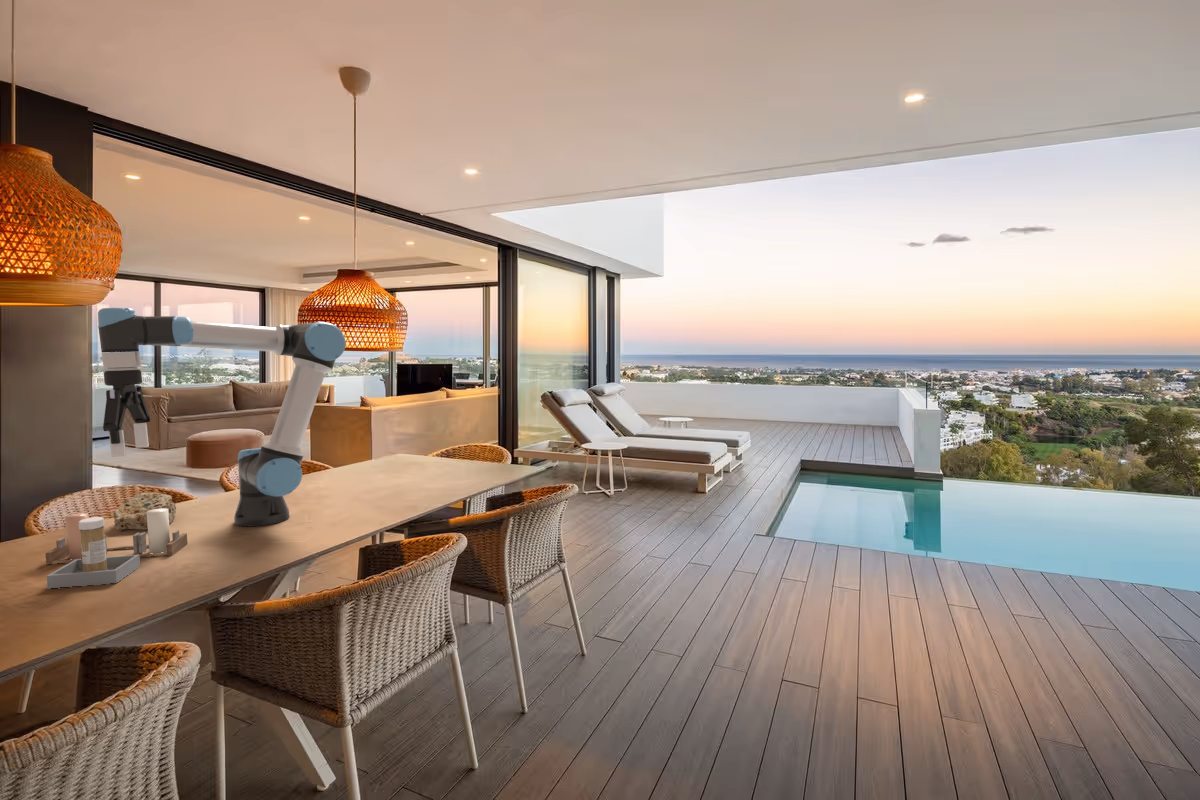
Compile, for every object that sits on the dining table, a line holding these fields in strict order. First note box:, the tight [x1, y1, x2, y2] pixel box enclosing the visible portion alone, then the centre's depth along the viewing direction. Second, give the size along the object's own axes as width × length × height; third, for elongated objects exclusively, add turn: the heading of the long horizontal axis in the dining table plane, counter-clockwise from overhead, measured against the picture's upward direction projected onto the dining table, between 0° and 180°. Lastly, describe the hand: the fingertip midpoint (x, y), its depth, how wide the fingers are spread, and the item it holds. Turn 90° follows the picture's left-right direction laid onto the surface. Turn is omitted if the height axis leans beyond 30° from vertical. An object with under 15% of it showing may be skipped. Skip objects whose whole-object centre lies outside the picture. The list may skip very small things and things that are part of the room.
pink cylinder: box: [64, 512, 90, 560], centre depth 155 cm, size 5×5×11 cm
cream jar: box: [147, 508, 171, 554], centre depth 160 cm, size 5×5×11 cm
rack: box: [45, 529, 188, 565], centre depth 158 cm, size 27×10×5 cm, turn 105°
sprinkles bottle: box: [79, 516, 107, 572], centre depth 141 cm, size 5×5×13 cm
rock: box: [112, 491, 177, 531], centre depth 187 cm, size 21×14×10 cm
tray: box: [46, 554, 141, 590], centre depth 141 cm, size 13×11×3 cm
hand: (131, 451), depth 155 cm, fingers open, 13 cm apart
